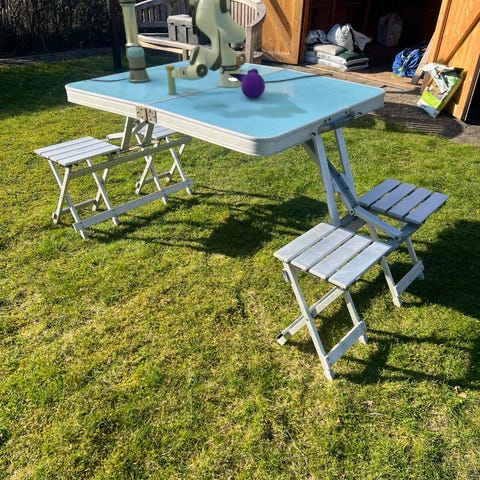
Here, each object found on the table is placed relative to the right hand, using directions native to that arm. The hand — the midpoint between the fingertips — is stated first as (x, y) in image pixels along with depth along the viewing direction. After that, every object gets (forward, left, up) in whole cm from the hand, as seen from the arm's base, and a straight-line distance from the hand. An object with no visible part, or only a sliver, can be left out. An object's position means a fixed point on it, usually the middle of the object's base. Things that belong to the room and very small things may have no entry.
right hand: (184, 74), depth 278 cm
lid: (0, -20, +2) cm, 20 cm away
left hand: (-48, -75, +13) cm, 90 cm away
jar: (0, -20, -15) cm, 25 cm away
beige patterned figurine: (-77, -67, -15) cm, 103 cm away
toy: (-36, +18, -15) cm, 43 cm away
